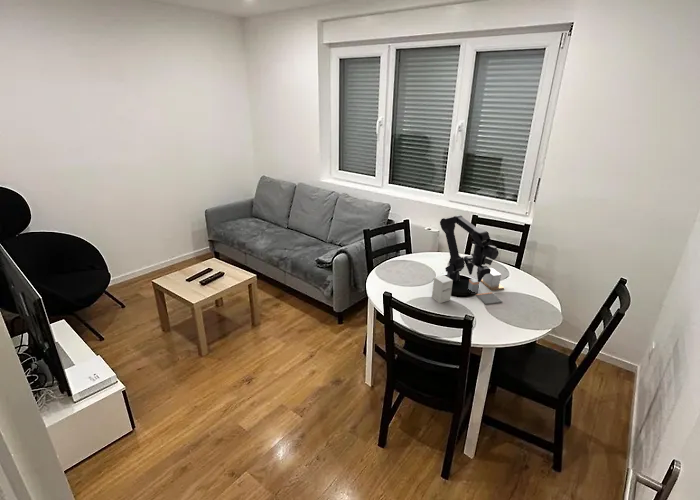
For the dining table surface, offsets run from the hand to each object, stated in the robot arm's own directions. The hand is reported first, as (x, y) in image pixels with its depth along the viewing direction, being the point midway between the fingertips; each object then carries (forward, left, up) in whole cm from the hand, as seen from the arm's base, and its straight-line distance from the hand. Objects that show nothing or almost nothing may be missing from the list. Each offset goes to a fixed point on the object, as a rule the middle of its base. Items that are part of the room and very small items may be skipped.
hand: (474, 278), depth 216 cm
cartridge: (0, 0, -8) cm, 8 cm away
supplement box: (-22, -4, -9) cm, 24 cm away
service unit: (+15, +4, -8) cm, 18 cm away
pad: (+4, -10, -8) cm, 14 cm away
